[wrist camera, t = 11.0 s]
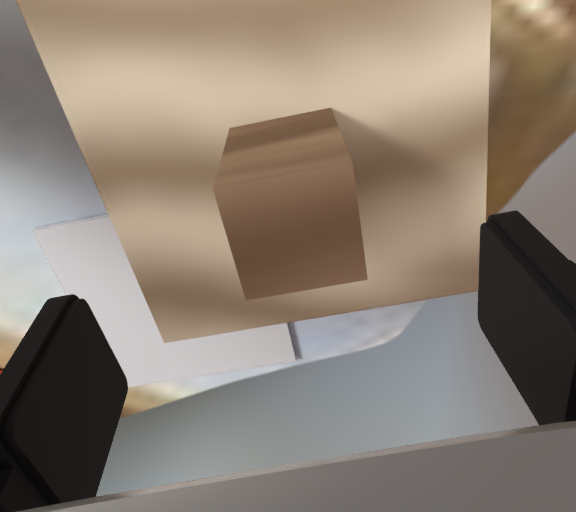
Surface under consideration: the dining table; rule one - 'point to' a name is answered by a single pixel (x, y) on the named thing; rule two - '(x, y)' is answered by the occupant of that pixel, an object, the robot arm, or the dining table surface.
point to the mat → (145, 311)
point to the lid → (279, 149)
